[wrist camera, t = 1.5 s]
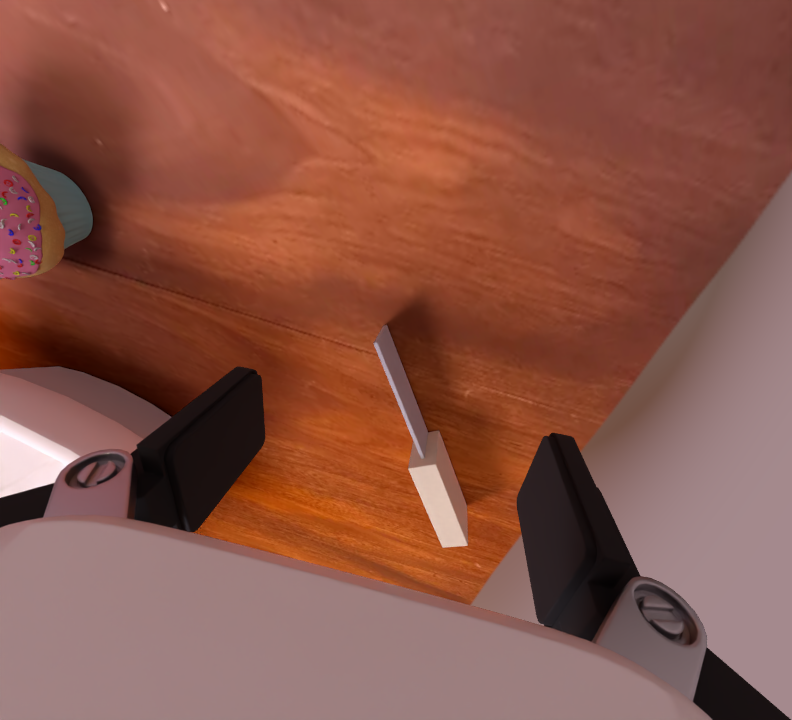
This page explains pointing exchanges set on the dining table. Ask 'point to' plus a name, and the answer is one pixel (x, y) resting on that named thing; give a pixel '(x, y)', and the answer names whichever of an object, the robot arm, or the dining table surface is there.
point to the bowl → (63, 423)
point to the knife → (426, 455)
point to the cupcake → (37, 216)
